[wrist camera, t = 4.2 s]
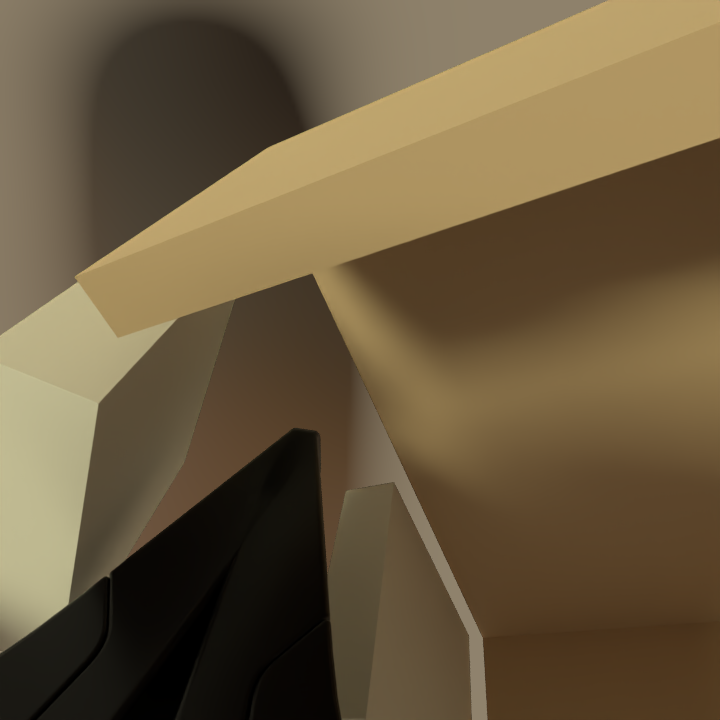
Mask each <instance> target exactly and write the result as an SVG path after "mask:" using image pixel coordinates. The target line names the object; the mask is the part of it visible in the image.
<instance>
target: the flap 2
mask: <svg viewBox="0 0 720 720" xmlns="http://www.w3.org/2000/svg"><path fill="white" fill-rule="evenodd" d="M327 577H328V591H329V605H330V622H331V629H332V643H333V656H334V665H335V674H336V684H337V693H338V701H339V706H340V712H341V718H342V720H472V715H471V686H470V659H469V635H468V633H467V631H466V629H465V627H464V625H463V623H462V621H461V619H460V617H459V614H458V612H457V610H456V608H455V606H454V604H453V602H452V600H451V598H450V596H449V594H448V592H447V590H446V588H445V586H444V584H443V582H442V580H441V578H440V576H439V574H438V571H437V569H436V568H435V565H434V563H433V561H432V559H431V557H430V555H429V553H428V551H427V549H426V547H425V545H424V543H423V541H422V539H421V537H420V535H419V533H418V530H417V529H416V527H415V524H414V523H413V520H412V518H411V516H410V514H409V512H408V510H407V508H406V506H405V504H404V502H403V500H402V498H401V496H400V494H399V492H398V489H397V487H396V485H395V484H394V482H392V483H387V484H381V485H376V486H369V487H365V488H358V489H353V490H347V491H346V493H345V497H344V502H343V507H342V511H341V516H340V520H339V525H338V529H337V534H336V538H335V543H334V548H333V552H332V556H331V561H330V566H329V570H328V575H327Z"/></svg>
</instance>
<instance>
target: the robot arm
mask: <svg viewBox="0 0 720 720" xmlns="http://www.w3.org/2000/svg"><path fill="white" fill-rule="evenodd" d="M320 453H321V450H320V435H319V433H318V432H317V431H313V430H307V429H299V428H293V429H292V430H290V431H289V432H288V433H287V434H285V435H284V436H283V437H282V438H280V439H279V440H278V441H276V442H275V443H274V444H273V445H271V446H270V447H269V448H268V449H266V450H265V451H264V452H263V453H261V454H260V455H259V456H257V457H256V458H255V459H253V460H252V461H251V462H250V463H248V464H247V465H246V466H245V467H243V468H242V469H241V470H240V471H238V472H237V473H236V474H234V475H233V476H232V477H231V478H230V479H228V480H227V481H226V482H224V483H223V484H222V485H220V486H219V487H218V488H217V489H215V490H214V491H213V492H212V493H210V494H209V495H208V496H207V497H205V498H204V499H203V500H201V501H200V502H199V503H197V504H196V505H195V506H194V507H192V508H191V509H190V510H189V511H187V512H186V513H185V514H183V515H182V516H181V517H180V518H179V519H177V520H176V521H175V522H173V523H172V524H171V525H169V526H168V527H167V528H166V529H164V530H163V531H162V532H161V533H159V534H158V535H157V536H156V537H154V538H153V539H152V540H150V541H149V542H148V543H147V544H145V545H144V546H143V547H141V548H140V549H139V550H138V551H136V552H135V553H134V554H133V555H131V556H130V557H129V558H127V559H126V560H125V561H124V562H122V563H121V564H120V565H119V566H117V567H116V568H115V569H113V570H112V571H111V572H110V576H109V577H107V576H105V577H103V578H102V579H100V580H99V581H98V582H97V583H95V584H94V585H93V586H91V587H90V588H89V589H88V590H86V591H85V592H84V593H83V594H81V595H80V596H79V597H77V598H76V599H75V600H73V601H72V602H71V603H69V604H68V605H67V606H65V607H64V608H63V609H61V610H60V611H59V612H57V613H56V614H55V615H53V616H52V617H51V618H49V619H48V620H47V621H45V622H44V623H43V624H41V625H40V626H39V627H37V628H36V629H35V630H33V631H32V632H30V633H29V634H28V635H26V636H25V637H23V638H22V639H20V640H19V641H18V642H16V643H15V644H13V645H12V646H10V647H9V648H7V649H6V650H5V651H3V652H2V653H0V720H342V718H341V712H340V706H339V701H338V693H337V684H336V674H335V665H334V656H333V643H332V629H331V622H330V605H329V591H328V577H327V563H326V549H325V535H324V523H323V522H324V521H323V507H322V494H321V478H320V472H321V454H320Z"/></svg>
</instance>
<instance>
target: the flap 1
mask: <svg viewBox="0 0 720 720" xmlns="http://www.w3.org/2000/svg"><path fill="white" fill-rule="evenodd" d="M234 302H235V299H234V300H231V301H228V302H225V303H222V304H219V305H216V306H213V307H210V308H207V309H204V310H201V311H198V312H195V313H192V314H189V315H186V316H183V317H180V318H177V319H174V320H171V321H167V322H164V323H161V324H158V325H155V326H152V327H149V328H146V329H143V330H140V331H137V332H134V333H131V334H128V335H125V336H122V337H119V338H118V337H117V336H116V334H115V333H114V332H113V330H112V329H111V327H110V326H109V325H108V323H107V322H106V320H105V319H104V318H103V316H102V315H101V313H100V312H99V311H98V309H97V308H96V306H95V305H94V304H93V302H92V301H91V299H90V298H89V297H88V295H87V294H86V292H85V291H84V290H83V288H82V287H81V285H80V284H79V283H78V282H77V283H76V284H74V285H73V286H72V287H70V288H69V289H67V290H66V291H64V292H63V293H61V294H60V295H59V296H57V297H56V298H54V299H53V300H51V301H50V302H48V303H47V304H45V305H44V306H42V307H41V308H40V309H38V310H37V311H35V312H34V313H33V314H31V315H29V316H28V317H27V318H25V319H24V320H22V321H21V322H19V323H18V324H16V325H15V326H13V327H12V328H11V329H9V330H8V331H6V332H5V333H3V334H2V335H0V651H2V652H3V651H5V650H6V649H7V648H9V647H10V646H12V645H13V644H15V643H16V642H18V641H19V640H20V639H22V638H23V637H25V636H26V635H28V634H29V633H30V632H32V631H33V630H35V629H36V628H37V627H39V626H40V625H41V624H43V623H44V622H45V621H47V620H48V619H49V618H51V617H52V616H53V615H55V614H56V613H57V612H59V611H60V610H61V609H63V608H64V607H65V606H67V605H68V604H69V603H71V602H72V601H73V600H75V599H76V598H77V597H79V596H80V595H81V594H83V593H84V592H85V591H86V590H88V589H89V588H90V587H91V586H93V585H94V584H95V583H97V582H98V581H99V580H100V579H102V578H103V577H105V576H107V577H109V576H110V572H111V571H112V570H113V569H115V568H116V567H117V566H119V565H120V564H121V563H122V562H124V561H125V560H126V558H127V556H128V555H129V553H130V551H131V550H132V548H133V546H134V545H135V543H136V542H137V540H138V538H139V536H140V535H141V533H142V532H143V530H144V528H145V527H146V525H147V523H148V522H149V520H150V518H151V517H152V515H153V514H154V512H155V510H156V509H157V507H158V505H159V504H160V502H161V500H162V499H163V497H164V495H165V494H166V492H167V490H168V489H169V487H170V485H171V484H172V482H173V480H174V479H175V477H176V476H177V474H178V472H179V471H180V469H181V467H182V466H183V464H184V462H185V459H186V456H187V453H188V450H189V446H190V443H191V440H192V437H193V433H194V430H195V427H196V424H197V421H198V417H199V414H200V411H201V408H202V405H203V401H204V398H205V395H206V392H207V388H208V385H209V382H210V379H211V375H212V372H213V369H214V366H215V363H216V360H217V356H218V353H219V350H220V347H221V343H222V340H223V337H224V334H225V331H226V327H227V324H228V321H229V318H230V315H231V311H232V308H233V305H234Z"/></svg>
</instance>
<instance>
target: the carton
mask: <svg viewBox="0 0 720 720" xmlns="http://www.w3.org/2000/svg"><path fill="white" fill-rule="evenodd" d="M312 273H313V275H314V277H315V279H316V281H317V284H318V286H319V288H320V290H321V292H322V294H323V297H324V299H325V301H326V303H327V305H328V307H329V309H330V311H331V313H332V316H333V318H334V320H335V322H336V324H337V327H338V329H339V331H340V333H341V335H342V337H343V339H344V341H345V344H346V346H347V348H348V350H349V352H350V354H351V357H352V359H353V361H354V363H355V365H356V367H357V369H358V372H359V374H360V376H361V378H362V380H363V382H364V384H365V387H366V389H367V391H368V393H369V395H370V397H371V399H372V402H373V404H374V406H375V408H376V410H377V412H378V414H379V416H380V419H381V421H382V423H383V425H384V427H385V429H386V431H387V434H388V436H389V438H390V440H391V442H392V444H393V446H394V449H395V451H396V453H397V455H398V457H399V459H400V461H401V464H402V466H403V467H404V470H405V472H406V474H407V476H408V479H409V481H410V483H411V485H412V487H413V489H414V491H415V494H416V496H417V498H418V500H419V502H420V504H421V506H422V509H423V511H424V513H425V515H426V517H427V519H428V521H429V524H430V526H431V528H432V530H433V532H434V534H435V536H436V538H437V541H438V543H439V545H440V547H441V549H442V551H443V554H444V556H445V558H446V560H447V562H448V564H449V566H450V569H451V571H452V573H453V575H454V577H455V579H456V581H457V584H458V586H459V588H460V589H461V592H462V594H463V596H464V598H465V601H466V603H467V605H468V607H469V609H470V611H471V613H472V615H473V618H474V620H475V622H476V624H477V626H478V628H479V631H480V633H481V635H482V637H483V647H484V662H485V663H484V664H485V681H486V699H487V716H488V720H720V0H608V1H606V2H603V3H601V4H599V5H597V6H594V7H592V8H590V9H587V10H585V11H583V12H580V13H578V14H576V15H574V16H571V17H569V18H566V19H564V20H562V21H560V22H557V23H555V24H553V25H550V26H548V27H546V28H544V29H541V30H539V31H536V32H534V33H532V34H530V35H527V36H525V37H523V38H520V39H518V40H516V41H513V42H511V43H509V44H506V45H504V46H502V47H500V48H497V49H495V50H493V51H490V52H488V53H486V54H483V55H481V56H479V57H476V58H474V59H472V60H469V61H467V62H465V63H463V64H460V65H458V66H456V67H454V68H451V69H449V70H446V71H444V72H442V73H440V74H437V75H435V76H433V77H430V78H428V79H426V80H423V81H421V82H419V83H416V84H414V85H412V86H409V87H407V88H405V89H403V90H400V91H398V92H396V93H394V94H391V95H389V96H386V97H384V98H382V99H379V100H377V101H375V102H373V103H370V104H368V105H365V106H363V107H361V108H359V109H356V110H354V111H352V112H349V113H347V114H345V115H343V116H340V117H338V118H336V119H333V120H331V121H328V122H326V123H324V124H322V125H319V126H317V127H315V128H312V129H310V130H308V131H305V132H303V133H301V134H299V135H296V136H294V137H292V138H289V139H287V140H285V141H282V142H280V143H278V144H275V145H273V146H271V147H268V148H267V149H265V150H264V151H262V152H261V153H259V154H258V155H257V156H255V157H254V158H252V159H250V160H249V161H247V162H246V163H244V164H243V165H241V166H240V167H239V168H237V169H235V170H234V171H232V172H231V173H229V174H228V175H226V176H225V177H224V178H222V179H220V180H219V181H217V182H216V183H214V184H213V185H212V186H210V187H208V188H207V189H206V190H204V191H203V192H201V193H200V194H198V195H196V196H195V197H194V198H192V199H191V200H189V201H188V202H186V203H184V204H183V205H182V206H180V207H179V208H177V209H175V210H174V211H172V212H171V213H169V214H168V215H166V216H165V217H164V218H162V219H160V220H159V221H157V222H156V223H154V224H153V225H152V226H150V227H149V228H147V229H145V230H144V231H142V232H141V233H139V234H138V235H137V236H135V237H134V238H132V239H130V240H129V241H127V242H126V243H125V244H123V245H122V246H120V247H119V248H117V249H116V250H114V251H113V252H111V253H110V254H108V255H107V256H105V257H104V258H102V259H101V260H99V261H98V262H96V263H95V264H93V265H92V266H90V267H89V268H87V269H86V270H84V271H83V272H81V273H80V274H78V275H77V276H75V278H76V280H77V281H78V283H79V284H80V285H81V287H82V288H83V290H84V291H85V292H86V294H87V295H88V297H89V298H90V299H91V301H92V302H93V304H94V305H95V306H96V308H97V309H98V311H99V312H100V313H101V315H102V316H103V318H104V319H105V320H106V322H107V323H108V325H109V326H110V327H111V329H112V330H113V332H114V333H115V334H116V336H117V337H118V338H119V337H122V336H125V335H128V334H131V333H134V332H137V331H140V330H143V329H146V328H149V327H152V326H155V325H158V324H161V323H164V322H167V321H171V320H174V319H177V318H180V317H183V316H186V315H189V314H192V313H195V312H198V311H201V310H204V309H207V308H210V307H213V306H216V305H219V304H222V303H225V302H228V301H231V300H234V299H237V298H239V297H243V296H246V295H249V294H252V293H255V292H258V291H261V290H263V289H267V288H270V287H272V286H276V285H279V284H282V283H285V282H288V281H291V280H294V279H297V278H300V277H303V276H306V275H309V274H312Z"/></svg>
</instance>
